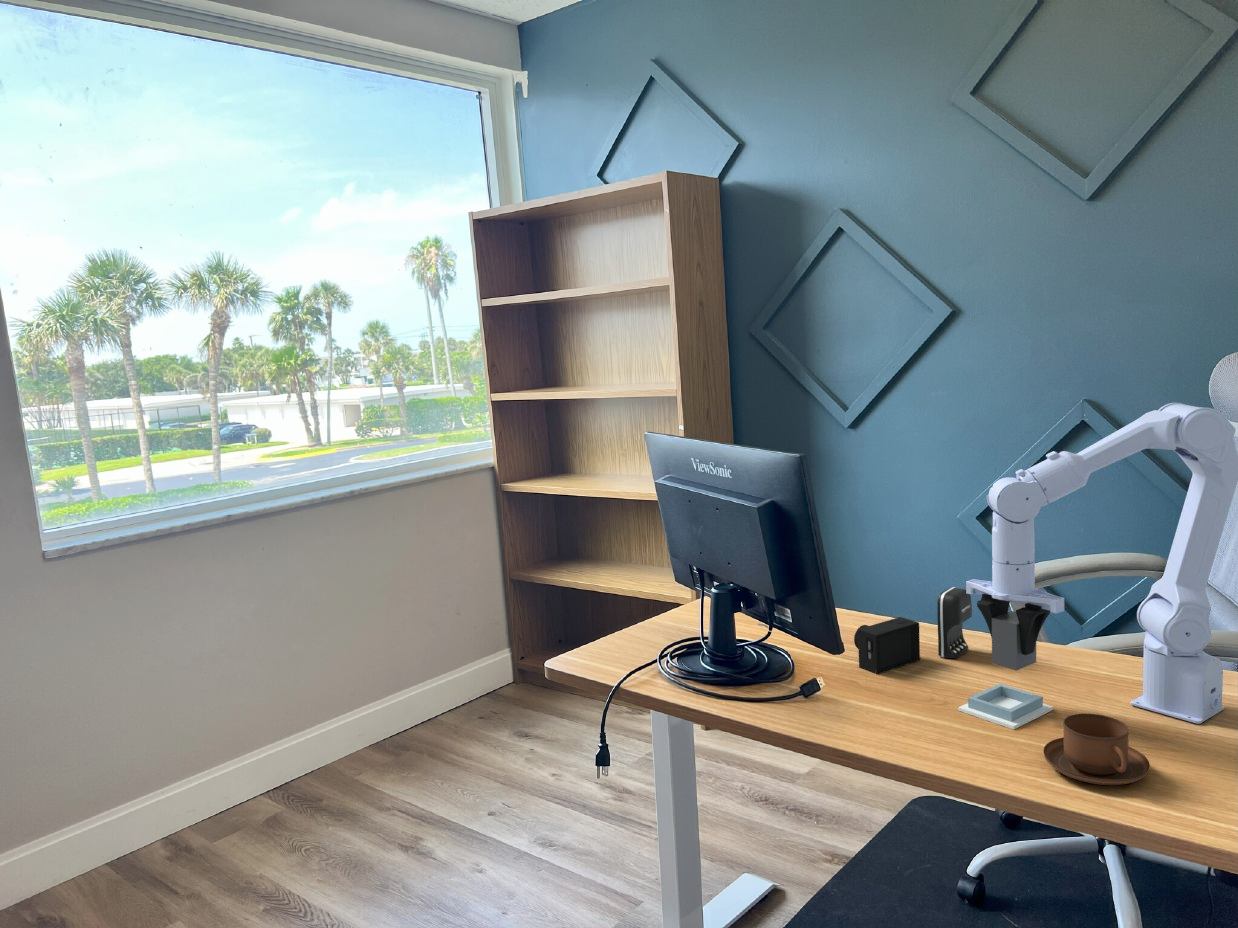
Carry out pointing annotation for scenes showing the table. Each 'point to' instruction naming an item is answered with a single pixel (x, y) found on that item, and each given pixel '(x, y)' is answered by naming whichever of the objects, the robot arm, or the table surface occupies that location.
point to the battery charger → (952, 621)
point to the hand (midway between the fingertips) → (1013, 649)
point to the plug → (1009, 643)
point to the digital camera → (888, 645)
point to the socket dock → (1006, 706)
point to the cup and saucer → (1096, 751)
